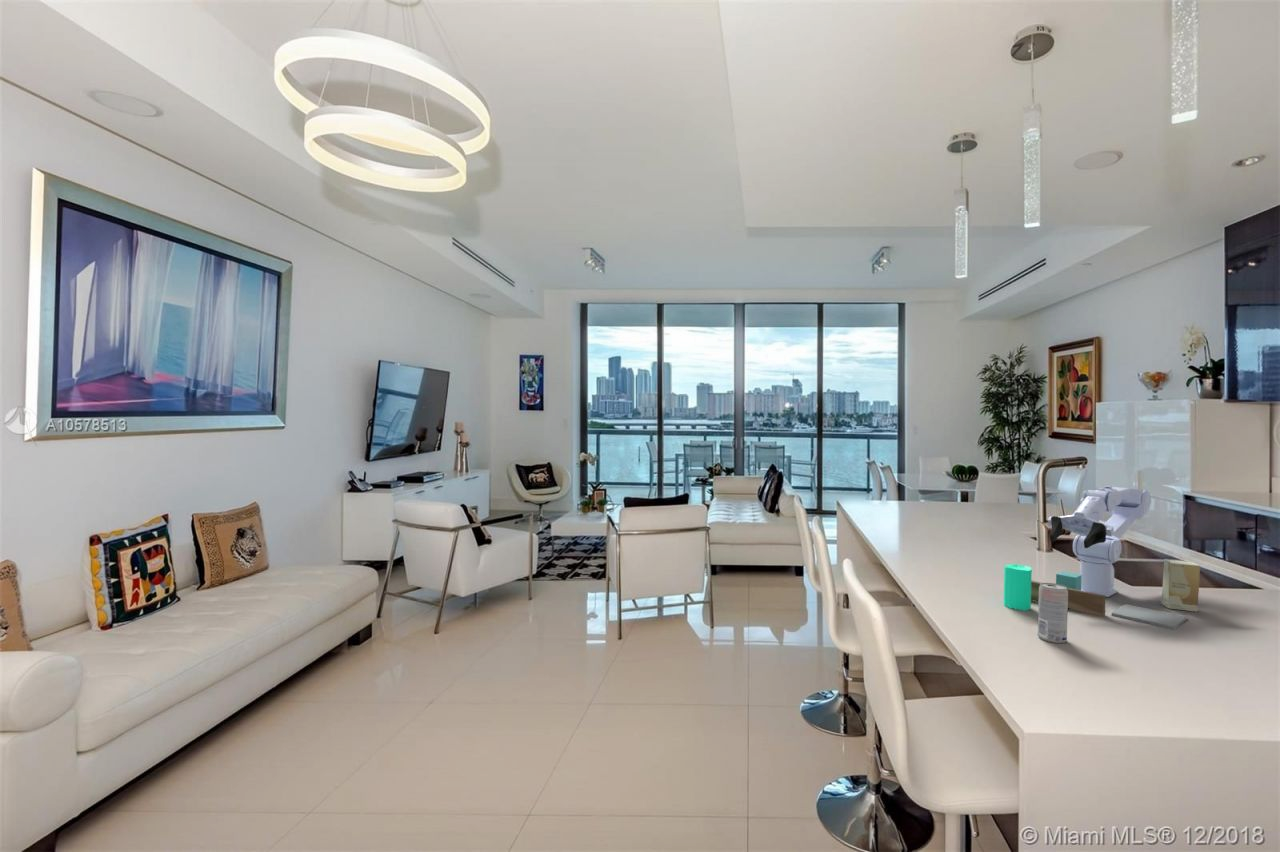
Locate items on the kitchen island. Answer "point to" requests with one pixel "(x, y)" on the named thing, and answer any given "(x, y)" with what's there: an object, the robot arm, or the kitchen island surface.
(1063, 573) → the teal block
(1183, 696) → the kitchen island surface
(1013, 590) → the candle
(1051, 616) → the energy drink
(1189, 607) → the skincare box
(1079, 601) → the walnut screen
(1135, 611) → the grey mat
